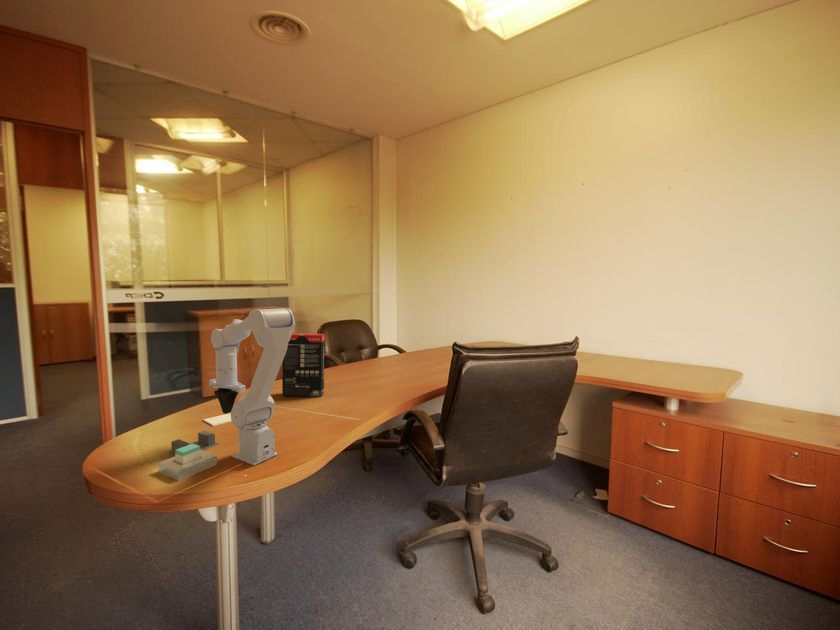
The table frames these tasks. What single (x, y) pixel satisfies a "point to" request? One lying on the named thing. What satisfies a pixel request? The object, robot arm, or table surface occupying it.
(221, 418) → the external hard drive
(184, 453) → the plug
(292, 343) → the graphics card box
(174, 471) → the port
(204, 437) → the holster
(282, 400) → the table surface
